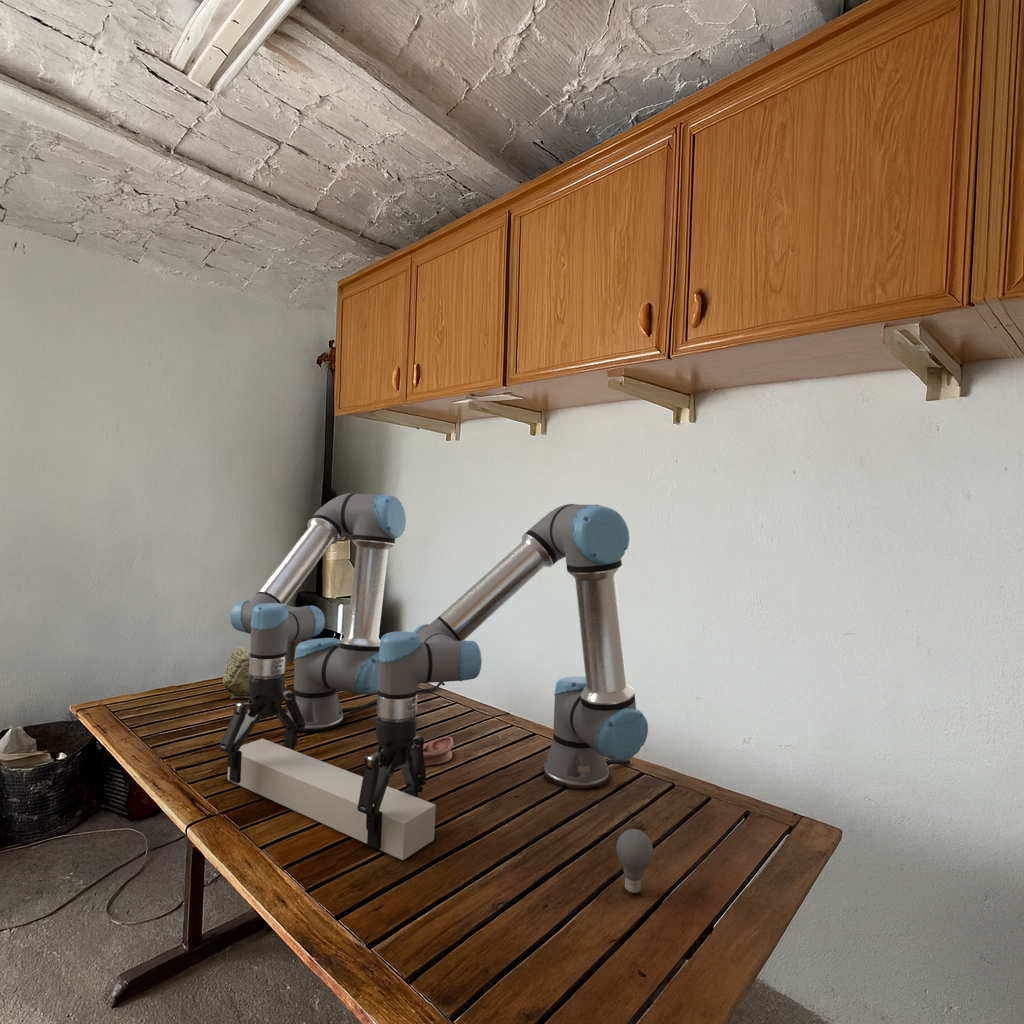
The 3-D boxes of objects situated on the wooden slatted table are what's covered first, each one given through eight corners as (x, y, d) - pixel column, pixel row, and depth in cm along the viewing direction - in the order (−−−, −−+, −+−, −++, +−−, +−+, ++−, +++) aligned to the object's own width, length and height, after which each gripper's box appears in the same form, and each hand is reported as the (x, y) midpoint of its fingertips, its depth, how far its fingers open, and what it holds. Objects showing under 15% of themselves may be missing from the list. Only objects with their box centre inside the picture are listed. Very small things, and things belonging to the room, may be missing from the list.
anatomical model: (390, 746, 152) (408, 729, 163) (390, 762, 152) (407, 745, 163) (443, 753, 149) (457, 735, 160) (443, 770, 149) (457, 751, 160)
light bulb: (610, 879, 108) (613, 822, 108) (644, 879, 109) (647, 822, 109) (619, 902, 102) (622, 840, 102) (655, 901, 103) (658, 840, 103)
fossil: (218, 695, 195) (220, 647, 195) (278, 685, 208) (279, 640, 207) (228, 703, 189) (230, 653, 188) (289, 692, 201) (290, 645, 201)
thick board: (227, 779, 140) (228, 749, 140) (261, 766, 147) (262, 738, 147) (402, 860, 112) (404, 823, 112) (434, 839, 119) (435, 804, 119)
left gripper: (225, 690, 127) (220, 796, 127) (323, 667, 148) (319, 757, 148) (203, 683, 131) (199, 785, 131) (302, 661, 152) (298, 749, 152)
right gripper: (369, 737, 107) (364, 869, 108) (448, 705, 126) (443, 818, 126) (338, 727, 112) (333, 854, 112) (419, 698, 130) (415, 807, 130)
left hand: (262, 771), depth 139 cm, fingers open, 13 cm apart
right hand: (391, 835), depth 119 cm, fingers closed on thick board, 9 cm apart
